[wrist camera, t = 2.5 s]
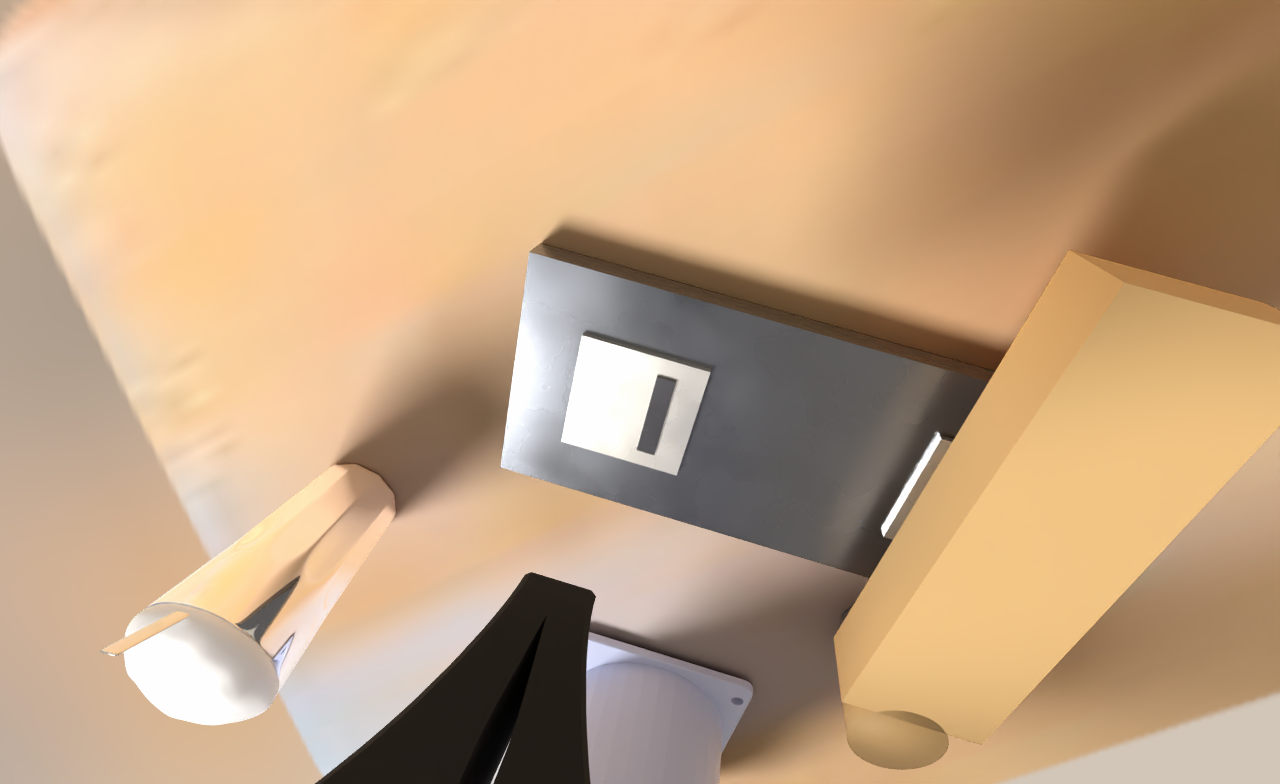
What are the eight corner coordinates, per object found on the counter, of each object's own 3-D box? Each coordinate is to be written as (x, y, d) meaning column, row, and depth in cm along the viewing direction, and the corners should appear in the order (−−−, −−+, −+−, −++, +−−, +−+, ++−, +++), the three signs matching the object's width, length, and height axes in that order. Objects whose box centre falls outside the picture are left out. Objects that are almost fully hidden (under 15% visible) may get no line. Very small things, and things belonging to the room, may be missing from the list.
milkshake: (408, 445, 23) (194, 676, 14) (415, 548, 25) (237, 795, 17) (298, 420, 23) (24, 630, 15) (315, 523, 26) (91, 753, 17)
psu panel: (1046, 611, 21) (1061, 641, 20) (510, 451, 22) (496, 472, 21) (1201, 429, 17) (1232, 455, 16) (540, 243, 18) (525, 254, 17)
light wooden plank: (925, 717, 22) (942, 786, 20) (807, 680, 22) (812, 745, 20) (1263, 302, 13) (1354, 345, 11) (1069, 249, 14) (1125, 282, 12)
